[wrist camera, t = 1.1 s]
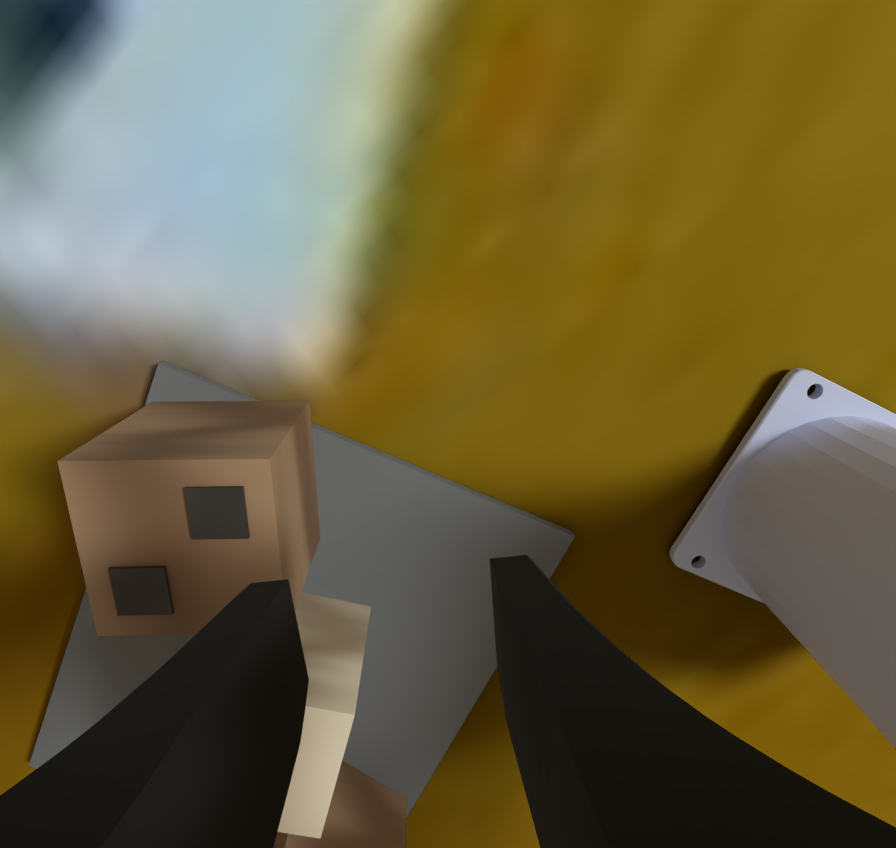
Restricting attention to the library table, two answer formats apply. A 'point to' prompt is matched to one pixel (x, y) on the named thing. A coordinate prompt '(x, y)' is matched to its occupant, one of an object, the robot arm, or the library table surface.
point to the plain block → (324, 706)
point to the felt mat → (357, 581)
